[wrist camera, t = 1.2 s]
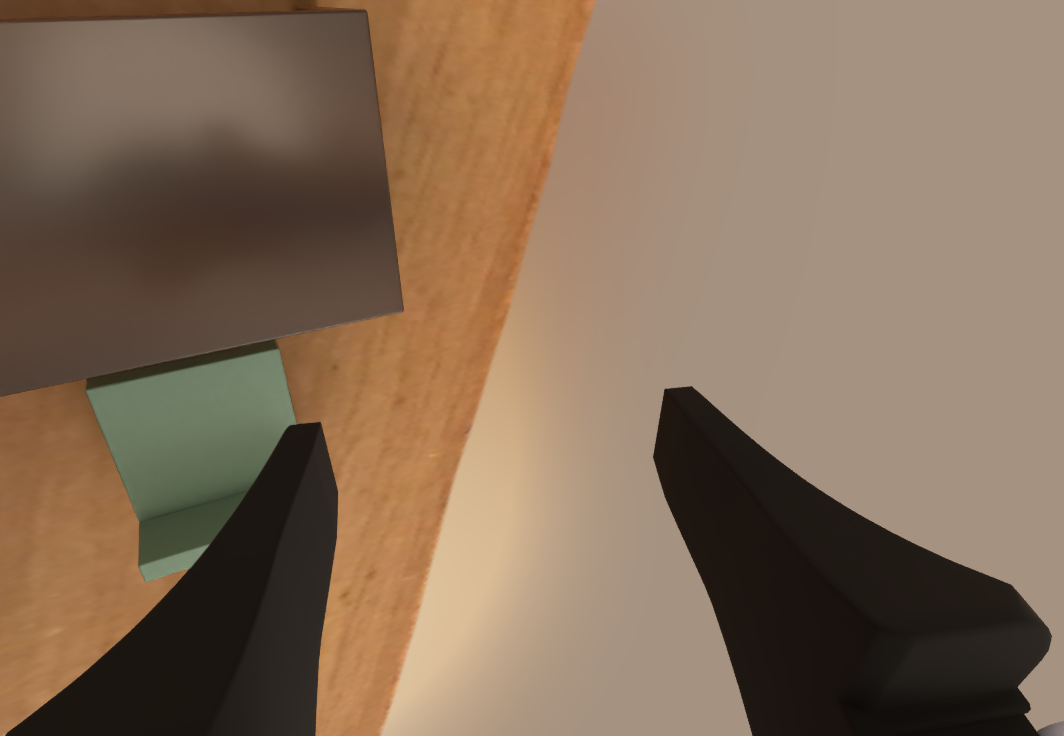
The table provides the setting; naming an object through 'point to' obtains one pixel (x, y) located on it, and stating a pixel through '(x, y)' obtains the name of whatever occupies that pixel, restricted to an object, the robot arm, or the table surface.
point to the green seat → (191, 443)
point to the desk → (186, 187)
